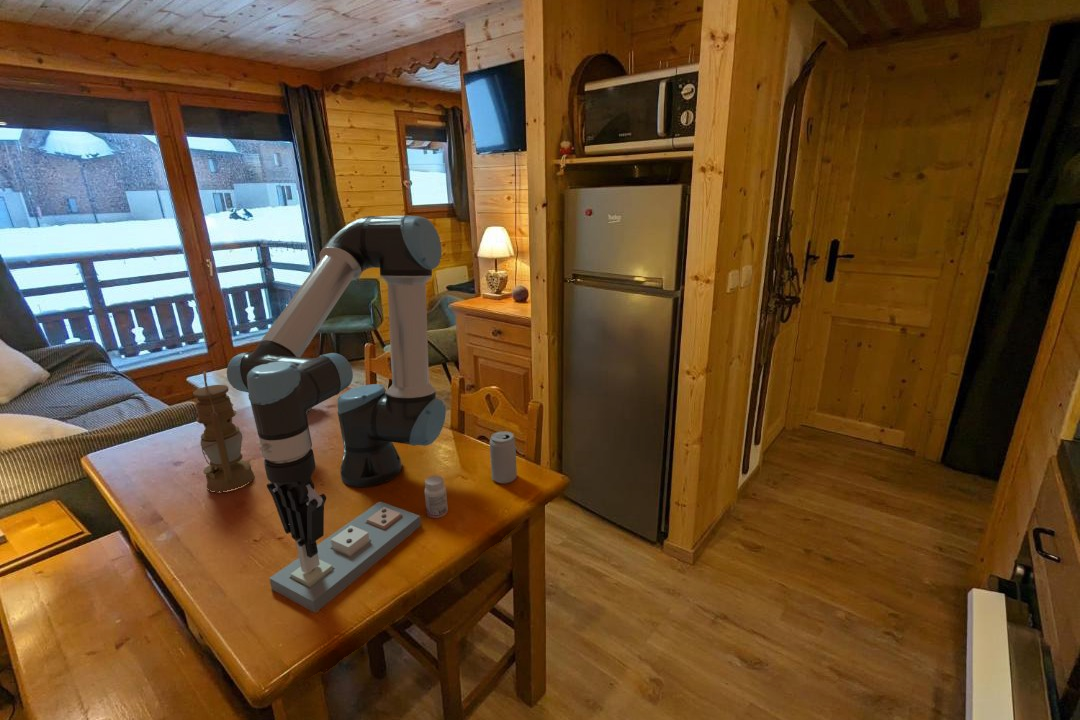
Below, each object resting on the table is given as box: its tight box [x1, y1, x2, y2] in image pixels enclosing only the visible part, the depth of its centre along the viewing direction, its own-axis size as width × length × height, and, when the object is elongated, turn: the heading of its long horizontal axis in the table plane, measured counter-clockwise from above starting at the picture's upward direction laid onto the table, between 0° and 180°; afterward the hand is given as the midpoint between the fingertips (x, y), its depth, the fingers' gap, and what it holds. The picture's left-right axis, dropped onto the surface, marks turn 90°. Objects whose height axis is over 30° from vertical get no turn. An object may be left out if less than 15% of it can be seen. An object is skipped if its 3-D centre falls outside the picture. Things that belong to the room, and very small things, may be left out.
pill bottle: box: [424, 474, 449, 519], centre depth 111 cm, size 5×5×8 cm
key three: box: [367, 507, 401, 531], centre depth 106 cm, size 5×5×3 cm
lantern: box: [192, 370, 255, 492], centre depth 122 cm, size 15×10×30 cm
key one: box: [291, 559, 333, 588], centre depth 91 cm, size 5×5×3 cm
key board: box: [268, 501, 422, 614], centre depth 99 cm, size 27×12×2 cm, turn 151°
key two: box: [331, 525, 370, 557], centre depth 98 cm, size 5×5×3 cm
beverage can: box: [489, 430, 518, 485], centre depth 123 cm, size 6×6×12 cm
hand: (310, 567), depth 90 cm, fingers closed
